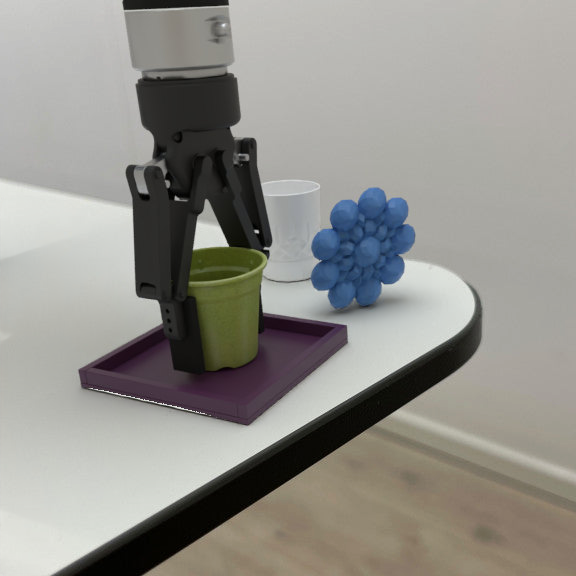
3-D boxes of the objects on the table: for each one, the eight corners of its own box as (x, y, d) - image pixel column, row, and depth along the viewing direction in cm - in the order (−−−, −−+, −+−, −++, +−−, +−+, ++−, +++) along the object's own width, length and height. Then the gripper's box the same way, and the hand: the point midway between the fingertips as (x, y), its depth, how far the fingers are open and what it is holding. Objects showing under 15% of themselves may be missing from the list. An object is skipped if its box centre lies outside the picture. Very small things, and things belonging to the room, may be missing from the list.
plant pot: (232, 390, 61) (219, 288, 58) (144, 368, 66) (127, 272, 62) (296, 346, 69) (289, 253, 65) (213, 329, 73) (202, 241, 69)
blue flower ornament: (395, 283, 85) (393, 174, 80) (426, 302, 79) (426, 185, 74) (297, 303, 80) (289, 188, 75) (323, 324, 75) (315, 201, 70)
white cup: (305, 287, 85) (298, 197, 80) (244, 279, 88) (235, 192, 84) (336, 266, 91) (332, 181, 87) (279, 259, 94) (272, 178, 90)
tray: (81, 387, 64) (77, 369, 63) (201, 318, 77) (199, 302, 77) (248, 425, 57) (245, 405, 56) (348, 342, 70) (347, 325, 70)
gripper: (128, 88, 47) (180, 411, 57) (299, 60, 64) (317, 312, 74) (39, 87, 50) (103, 394, 60) (225, 61, 67) (251, 303, 77)
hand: (221, 349), depth 67 cm, fingers closed on plant pot, 8 cm apart
